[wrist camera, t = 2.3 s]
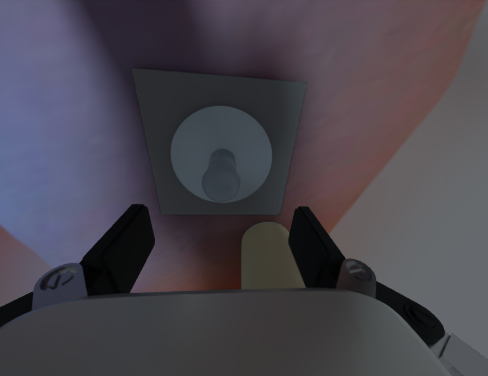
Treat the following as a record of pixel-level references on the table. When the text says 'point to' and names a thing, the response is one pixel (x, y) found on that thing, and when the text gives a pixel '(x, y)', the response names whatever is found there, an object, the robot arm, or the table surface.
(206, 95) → the mat
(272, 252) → the coffee cup
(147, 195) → the table surface
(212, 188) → the lid
